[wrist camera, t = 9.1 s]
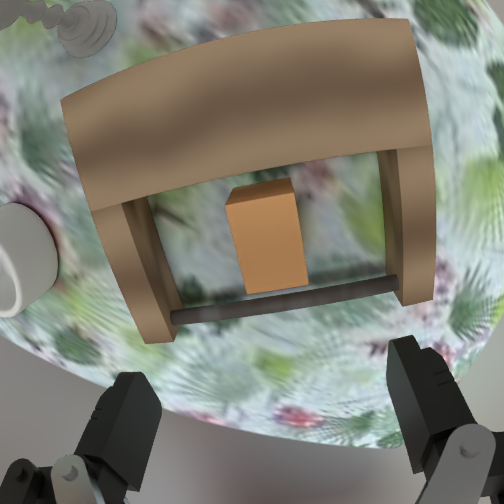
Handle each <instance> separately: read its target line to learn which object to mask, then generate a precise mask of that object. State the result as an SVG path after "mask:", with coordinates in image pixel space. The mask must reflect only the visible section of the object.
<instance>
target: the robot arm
mask: <svg viewBox="0 0 504 504" xmlns="http://www.w3.org/2000/svg"><path fill="white" fill-rule="evenodd" d="M386 380H387V386H388V391H389V394H390V397H391V400H392V403H393V406H394V409H395V412H396V416H397V419H398V422H399V425H400V429H401V432H402V435H403V439H404V442H405V445H406V449H407V452H408V456H409V460H410V463H411V467H412V470H413V474H416V473H419V472H423V471H424V474H425V477H426V483H425V485H424V487H423V489H422V491H421V493H420V495H419V497H418V499H417V500H416V502H415V504H478V501H479V498H480V497H486V496H490V499H491V503H492V504H504V432H492V431H490V430H489V429H487V428H486V427H484V426H482V425H479V424H478V423H477V422H476V421H475V419H474V418H473V416H472V413H471V411H470V409H469V407H468V405H467V403H466V402H465V399H464V397H463V395H462V393H461V391H460V389H459V387H458V385H457V383H456V382H455V381H454V377H453V375H452V374H451V372H449V368H448V366H447V364H446V362H445V361H444V359H443V357H442V356H441V355H440V354H439V353H437V352H436V351H435V350H433V349H432V348H431V347H428V348H425V349H420V347H419V345H418V343H417V341H416V339H415V337H414V336H413V335H409V336H405V337H401V338H397V339H393V340H390V341H389V343H388V357H387V370H386ZM161 415H162V407H161V402H160V400H159V398H158V397H157V395H156V393H155V392H154V390H153V388H152V387H151V385H150V383H149V382H148V380H147V378H146V377H145V375H144V374H143V373H142V372H121V373H119V375H118V376H117V378H116V380H115V382H114V385H113V386H110V387H109V388H108V389H107V390H106V391H105V392H104V393H103V394H102V396H101V397H100V399H99V401H98V403H97V405H96V407H95V411H93V413H92V415H91V420H89V422H88V424H87V426H86V428H85V430H84V432H83V435H82V437H81V439H80V442H79V444H78V446H77V448H76V450H75V452H74V454H70V455H65V456H63V457H61V458H60V459H58V460H57V461H56V463H55V464H54V466H51V467H38V468H37V467H36V466H35V465H34V464H32V463H31V462H30V461H29V460H27V459H24V458H23V459H18V460H16V461H15V462H13V463H12V464H11V465H10V467H9V468H8V470H7V473H6V475H5V477H4V480H3V482H2V485H1V487H0V504H130V503H129V501H128V499H127V498H126V497H125V495H126V491H127V490H130V491H137V492H139V491H140V488H141V484H142V480H143V477H144V473H145V470H146V466H147V463H148V459H149V456H150V452H151V449H152V446H153V442H154V439H155V435H156V432H157V429H158V425H159V422H160V419H161Z"/></svg>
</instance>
